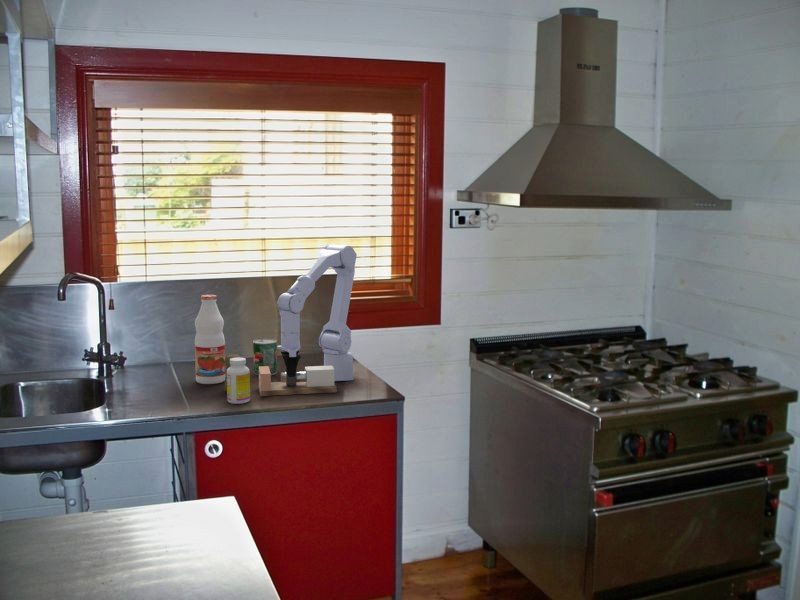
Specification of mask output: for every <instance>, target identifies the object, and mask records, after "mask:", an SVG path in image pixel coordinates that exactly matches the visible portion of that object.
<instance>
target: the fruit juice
mask: <svg viewBox="0 0 800 600" xmlns="http://www.w3.org/2000/svg"><path fill="white" fill-rule="evenodd" d="M217 299H218V297H217V295H215V294H202V295H201V296H200V301H201V305H200V308H199V310H198V313H197V316H196V318H195V319H194V327H195V331H196V332H195V337H194V356H195V360H194V361H195V362H194V363H195V365H194V366H195V381H196V383H198V384H201V385H215V384H220V383H223V382H225V377H226V364H225V358H226V341H225V339H226V338H225V335H224V332H223V329H224V325H225V321H224V318H223V316H222V314H221V313H220V310H219V307H218V305H217V303H216V302H217Z"/></svg>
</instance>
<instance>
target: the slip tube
mask: <svg viewBox="0 0 800 600" xmlns="http://www.w3.org/2000/svg"><path fill="white" fill-rule="evenodd" d="M284 368H285V371H284V372H280V382H281V383H286V386H296V382H307V372H305V371H296V374H295V377H288V375H287V369H286V364H285V363H284Z"/></svg>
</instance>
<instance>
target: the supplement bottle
mask: <svg viewBox="0 0 800 600" xmlns="http://www.w3.org/2000/svg"><path fill="white" fill-rule="evenodd" d="M246 363H247V359H246V357H241V358H240V357H237V358H231V359H230V365H231V367H229V368H228V369H227V391H226V394H227V395H226V397H227V399H226V400H227V402H228V403H230V404H235V405H241V404H246V403H248V402H250V401H251V381H250V377H251V376H250V368H249V367H248V366H246Z"/></svg>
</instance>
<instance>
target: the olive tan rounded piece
mask: <svg viewBox="0 0 800 600" xmlns="http://www.w3.org/2000/svg"><path fill="white" fill-rule="evenodd" d="M237 357H240V358H242V356H241V355H239V354H233V353H232V354H228V355H225V366H226V367H225V381H224V385H223V386H224V387H223V390H224V391H225V392H227V369H228V368H229V367H231V365H230V359H231V358H237Z"/></svg>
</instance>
